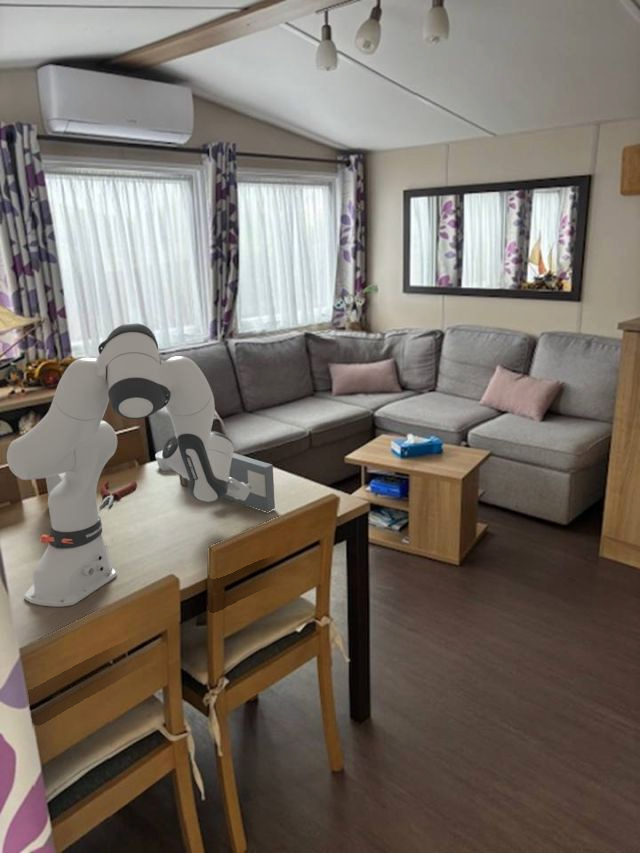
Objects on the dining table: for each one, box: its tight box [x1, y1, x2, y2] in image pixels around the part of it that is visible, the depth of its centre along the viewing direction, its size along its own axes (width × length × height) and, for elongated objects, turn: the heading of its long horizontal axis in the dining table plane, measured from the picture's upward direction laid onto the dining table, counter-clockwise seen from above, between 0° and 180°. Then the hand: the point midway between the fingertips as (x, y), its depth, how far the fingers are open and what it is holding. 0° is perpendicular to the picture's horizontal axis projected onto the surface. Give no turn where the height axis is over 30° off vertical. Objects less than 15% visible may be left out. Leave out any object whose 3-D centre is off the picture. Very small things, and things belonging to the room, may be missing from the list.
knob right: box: [235, 482, 251, 499], centre depth 189 cm, size 5×4×4 cm
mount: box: [222, 452, 276, 512], centre depth 200 cm, size 4×24×15 cm, turn 49°
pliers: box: [98, 480, 138, 510], centre depth 209 cm, size 12×20×3 cm, turn 2°
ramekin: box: [154, 449, 174, 471], centre depth 235 cm, size 11×11×5 cm
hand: (234, 495), depth 187 cm, fingers closed, pressing on knob right
